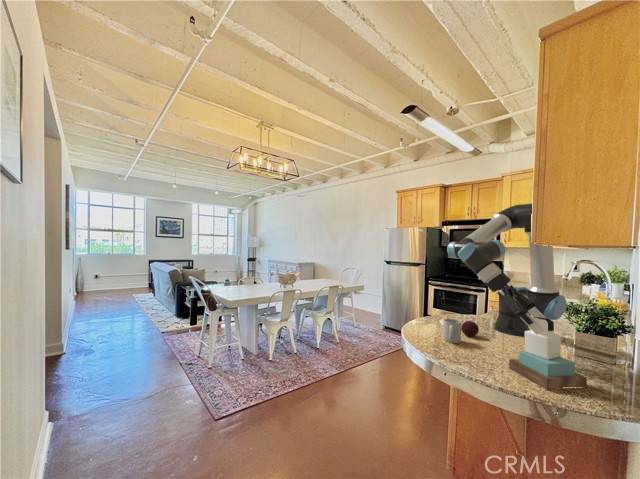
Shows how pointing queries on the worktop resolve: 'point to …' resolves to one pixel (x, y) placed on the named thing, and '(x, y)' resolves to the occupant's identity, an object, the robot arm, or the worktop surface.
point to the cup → (452, 330)
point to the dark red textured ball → (469, 328)
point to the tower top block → (548, 365)
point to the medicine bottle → (543, 340)
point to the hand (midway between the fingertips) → (544, 328)
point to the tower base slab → (546, 381)
